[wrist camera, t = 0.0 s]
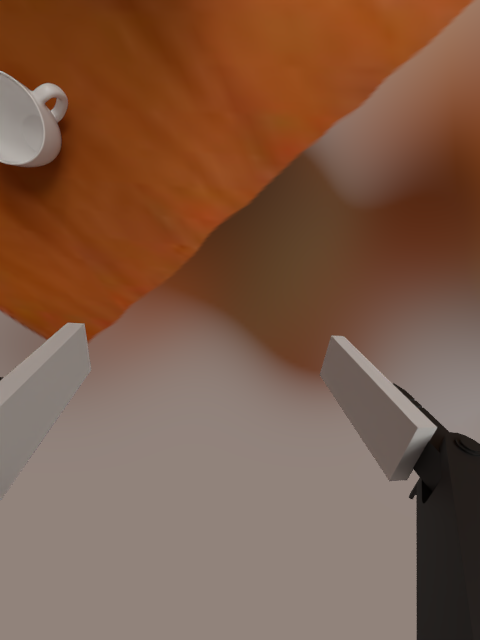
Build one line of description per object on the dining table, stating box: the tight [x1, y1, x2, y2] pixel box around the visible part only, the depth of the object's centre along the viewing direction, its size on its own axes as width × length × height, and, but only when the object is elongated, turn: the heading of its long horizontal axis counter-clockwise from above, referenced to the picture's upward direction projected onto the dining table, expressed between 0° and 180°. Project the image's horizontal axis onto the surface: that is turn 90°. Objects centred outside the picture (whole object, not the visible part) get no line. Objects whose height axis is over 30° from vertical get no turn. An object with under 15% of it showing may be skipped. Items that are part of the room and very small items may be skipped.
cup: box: [0, 71, 68, 167], centre depth 28 cm, size 8×10×7 cm
